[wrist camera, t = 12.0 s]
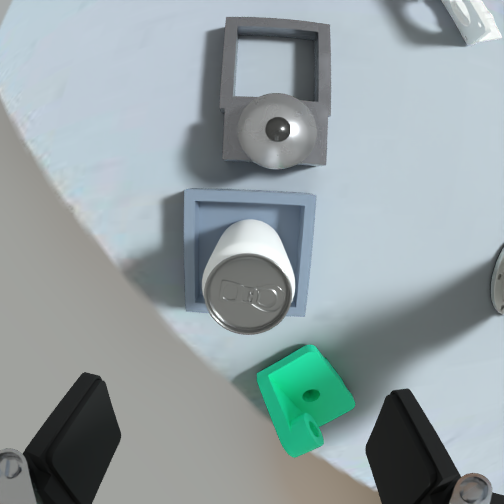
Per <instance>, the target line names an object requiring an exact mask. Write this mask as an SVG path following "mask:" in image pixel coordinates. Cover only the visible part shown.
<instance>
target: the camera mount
mask: <svg viewBox="0 0 504 504" xmlns="http://www.w3.org/2000/svg"><path fill="white" fill-rule="evenodd" d="M257 383H258V386H259V388H260V391H261V393H262V396H263V399H264V401H265V404H266V407H267V409H268V412H269V414H270V417H271V419H272V422H273V425H274V427H275V429H276V432H277V435H278V437H279V440H280V442H281V444H282V446H283V448H284V449H285V451H286V452H287V453H288V454H289V455H290V456H292V457H298V456H300V455H302V454H305V453H307V452H309V451H312V450H314V449H316V448H318V447H320V446H322V445H323V444H324V440H323V436H322V433H321V431H320V428H319V427H320V426H322V425H324V424H326V423H328V422H330V421H332V420H334V419H336V418H337V417H339V416H341V415H343V414H345V413H347V412H348V411H350V410H352V409H353V408H354V407H355V401H354V398H353V396H352V394H351V393H350V391H349V390H348V389H347V388H346V386H345V385H344V383H343V381H342V379H341V378H340V376H339V375H338V374H337V372H336V371H335V369H334V368H333V367H332V365H331V364H330V363H329V361H328V360H327V359H326V358H324V357H323V356H322V354H321V353H320V352H319V350H318V349H317V348H316V347H315V346H314V345H305V346H303V347H302V348H300V349H299V350H297V351H295V352H293V353H292V354H290V355H288V356H287V357H285V358H283V359H281V360H280V361H278V362H276V363H274V364H273V365H271V366H269V367H267V368H266V369H264V370H262V371H260V372H258V373H257Z"/></svg>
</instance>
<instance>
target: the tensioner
mask: <svg viewBox="0 0 504 504" xmlns="http://www.w3.org/2000/svg"><path fill="white" fill-rule="evenodd" d="M239 35H259V36H277V37H289V38H299V39H308V40H314V42H315V84H314V102H313V101H304V100H298V99H296V98H295V97H292V96H290V95H286V94H281V93H272V94H266V95H263V96H260V97H237V96H235V82H236V66H237V50H238V36H239ZM219 108H220V110H221V112H222V113H225V114H224V134H223V156H222V159H223V160H225V161H235V162H255V163H256V164H258V165H260V166H262V167H265V168H269V169H285V168H289V167H292V166H295V165H307V166H324V165H326V155H327V128H328V117H329V116H330V115H331V47H330V25H329V24H322V23H315V22H307V21H299V20H289V19H277V18H259V17H226V25H225V36H224V48H223V61H222V74H221V89H220V105H219Z"/></svg>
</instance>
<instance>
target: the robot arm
mask: <svg viewBox="0 0 504 504" xmlns="http://www.w3.org/2000/svg"><path fill="white" fill-rule="evenodd" d="M491 300H492V303H493V306H494V308H495V309H496V310H497V311H498V312H499V313H501V314H502V315H504V248H503V250H502V251H501V253H500V255H499V257H498V259H497V262H496V265H495V268H494V271H493V275H492V281H491ZM120 439H121V432H120V429H119V426H118V423H117V420H116V417H115V414H114V410H113V407H112V404H111V401H110V397H109V394H108V390H107V386H106V383H105V382H104V381H102V379H101V377H100V376H98V375H94V374H90V373H86V372H85V373H83V374H81V376H80V377H79V378H78V379H77V381H76V382H75V383H74V385H73V386H72V387H71V388H70V390H69V391H68V392H67V394H66V395H65V396H64V398H63V399H62V400H61V401H60V403H59V404H58V406H57V407H56V408H55V410H54V411H53V412H52V413H51V415H50V416H49V417H48V419H47V420H46V422H45V423H44V424H43V426H42V427H41V428H40V430H39V431H38V432H37V434H36V435H35V437H34V438H33V439H32V441H31V442H30V444H29V445H28V446H27V448H26V449H25V451H24V453H23V454H22V453H21V452H19V451H18V450H15V449H8V448H6V449H3V450H0V504H92V502H93V500H94V498H95V495H96V493H97V491H98V488H99V486H100V484H101V482H102V479H103V477H104V475H105V473H106V471H107V468H108V466H109V464H110V462H111V459H112V457H113V455H114V453H115V451H116V448H117V446H118V444H119V442H120ZM366 455H367V458H368V461H369V464H370V467H371V470H372V474H373V477H374V480H375V483H376V486H377V489H378V492H379V496H380V499H381V502H382V504H504V495H500V494H496V493H493V492H492V486H491V483H490V481H489V480H488V479H487V478H486V477H485V476H483V475H481V474H478V473H470V474H466V475H464V476H462V477H461V476H460V474H459V472H458V470H457V469H456V467H455V465H454V463H453V461H452V459H451V458H450V456H449V454H448V452H447V451H446V449H445V447H444V445H443V443H442V442H441V440H440V438H439V437H438V435H437V433H436V431H435V430H434V428H433V426H432V425H431V423H430V422H429V420H428V418H427V417H426V415H425V413H424V412H423V410H422V408H421V407H420V405H419V403H418V402H417V400H416V399H415V397H414V395H413V394H412V392H411V391H410V389H401V390H394V391H392V392H391V393H390V395H387V396H386V398H385V401H384V403H383V406H382V409H381V411H380V414H379V416H378V419H377V421H376V424H375V426H374V428H373V431H372V433H371V435H370V437H369V440H368V442H367V444H366Z"/></svg>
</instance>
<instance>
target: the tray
mask: <svg viewBox="0 0 504 504" xmlns="http://www.w3.org/2000/svg"><path fill="white" fill-rule="evenodd" d="M315 208H316V195H313V194H310V193H296V192H280V191H261V190H237V189H198V188H190V189H186V190H184V277H185V306H186V311H189V312H203V313H209V311H208V309H207V307H206V304H205V299H204V296H203V292H202V278H203V273H204V270H205V268H206V265H207V263H208V261H209V259H210V257H211V255H212V253H213V251H214V249H215V247H216V245H217V243H218V241H219V239H220V238H221V236H222V234H223V233H224V232H225V230H226V229H227V228H228V227H230V226H231V225H232V224H234V223H236V222H238V221H241V220H246V219H254V220H259V221H262V222H264V223H266V224H268V225H269V226H271V227H272V228H273V229H274V230H275V231H276V232H277V234H278V236H279V237H280V239H281V242H282V244H283V246H284V249H285V251H286V254H287V256H288V259H289V261H290V264H291V267H292V270H293V273H294V277H295V293H294V297H293V300H292V303H291V306H290V308H289V311H288V313H287V314H286V316H300V317H305V312H306V303H307V295H308V286H309V276H310V266H311V256H312V245H313V234H314V221H315Z"/></svg>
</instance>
